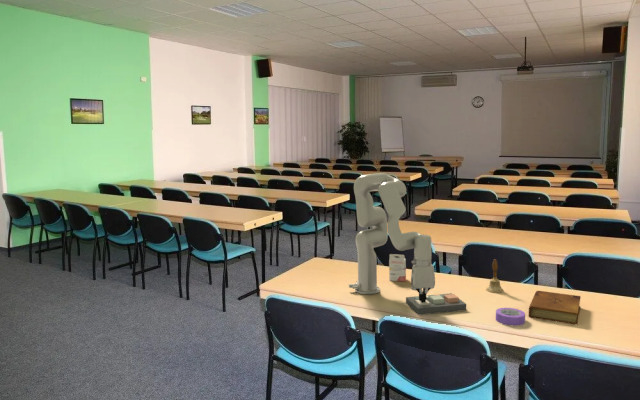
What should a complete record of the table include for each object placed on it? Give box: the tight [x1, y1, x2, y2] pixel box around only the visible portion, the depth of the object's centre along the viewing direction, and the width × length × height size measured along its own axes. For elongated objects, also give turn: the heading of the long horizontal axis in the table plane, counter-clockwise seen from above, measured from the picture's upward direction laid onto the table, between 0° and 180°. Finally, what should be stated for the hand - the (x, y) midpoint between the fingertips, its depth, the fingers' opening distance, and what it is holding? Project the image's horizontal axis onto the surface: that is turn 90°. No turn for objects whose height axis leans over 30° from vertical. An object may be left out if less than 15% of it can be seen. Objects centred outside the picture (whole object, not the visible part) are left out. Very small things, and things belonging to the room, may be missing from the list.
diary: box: [528, 290, 581, 325], centre depth 219 cm, size 23×19×6 cm
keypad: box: [405, 292, 467, 316], centre depth 228 cm, size 23×15×4 cm, turn 100°
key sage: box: [429, 294, 444, 304], centre depth 227 cm, size 5×5×2 cm
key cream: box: [415, 300, 430, 306], centre depth 226 cm, size 5×5×2 cm
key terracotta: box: [444, 293, 460, 303], centre depth 228 cm, size 5×5×2 cm
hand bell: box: [485, 258, 504, 294], centre depth 248 cm, size 8×8×16 cm
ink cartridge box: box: [388, 253, 407, 282], centre depth 269 cm, size 9×5×15 cm, turn 73°
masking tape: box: [495, 307, 526, 327], centre depth 211 cm, size 12×12×4 cm
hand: (422, 301), depth 225 cm, fingers closed
